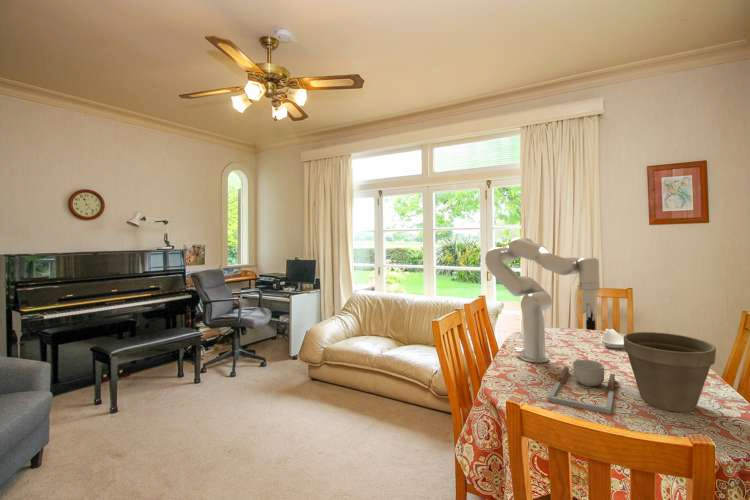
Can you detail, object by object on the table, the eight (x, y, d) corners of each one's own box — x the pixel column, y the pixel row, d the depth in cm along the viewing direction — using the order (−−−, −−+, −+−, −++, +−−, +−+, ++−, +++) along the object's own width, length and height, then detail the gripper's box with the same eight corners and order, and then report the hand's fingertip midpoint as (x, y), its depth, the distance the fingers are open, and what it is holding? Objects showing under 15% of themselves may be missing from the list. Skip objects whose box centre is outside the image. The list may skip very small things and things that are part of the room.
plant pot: (726, 428, 110) (725, 355, 110) (626, 410, 123) (625, 345, 123) (707, 397, 131) (706, 336, 131) (623, 384, 144) (622, 329, 144)
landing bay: (547, 401, 132) (547, 397, 132) (556, 385, 145) (556, 381, 145) (610, 414, 121) (610, 409, 121) (613, 395, 134) (613, 391, 134)
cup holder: (558, 383, 147) (558, 377, 147) (564, 372, 159) (564, 366, 159) (612, 393, 137) (612, 386, 137) (614, 380, 149) (614, 374, 149)
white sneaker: (630, 351, 186) (630, 337, 186) (603, 349, 191) (602, 335, 191) (619, 339, 208) (619, 327, 208) (595, 338, 213) (595, 325, 212)
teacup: (609, 389, 140) (608, 368, 140) (578, 388, 142) (577, 367, 142) (595, 376, 154) (594, 357, 154) (566, 375, 156) (566, 356, 156)
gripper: (581, 284, 167) (583, 325, 167) (577, 288, 155) (578, 332, 155) (601, 285, 163) (602, 326, 163) (598, 288, 151) (599, 334, 151)
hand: (590, 329), depth 159 cm, fingers closed
